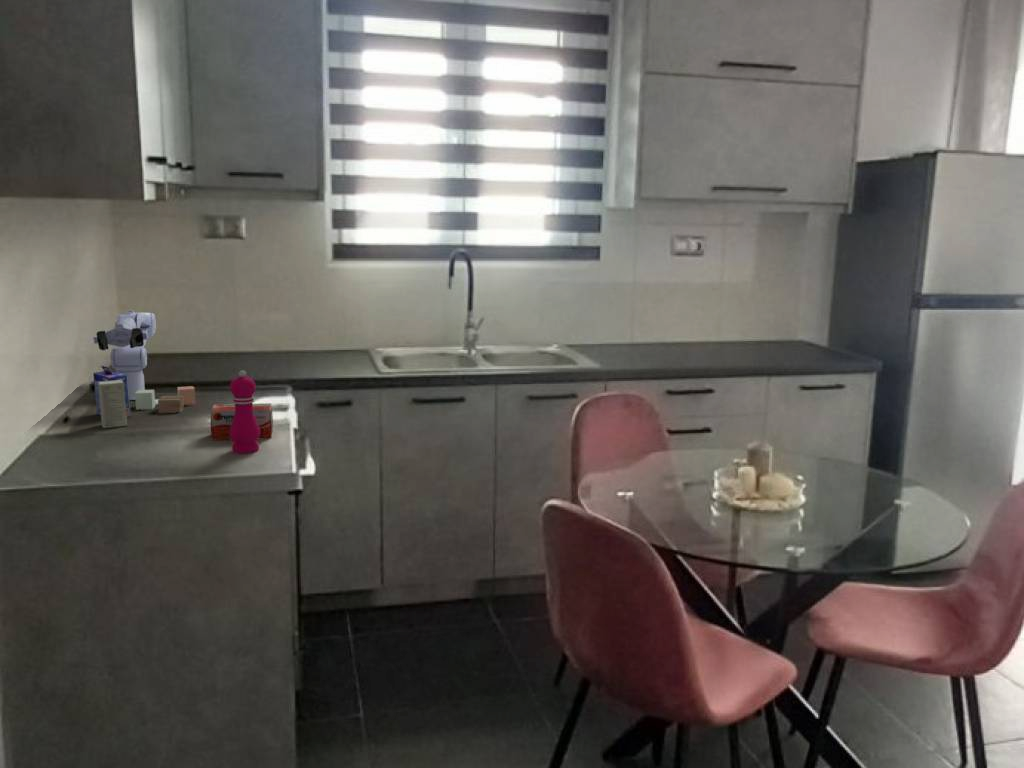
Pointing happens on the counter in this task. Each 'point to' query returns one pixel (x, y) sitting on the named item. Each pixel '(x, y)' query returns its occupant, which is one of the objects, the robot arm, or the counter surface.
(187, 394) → the clay block
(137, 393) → the sage block
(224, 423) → the medicine box
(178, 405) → the base block
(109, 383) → the skincare box
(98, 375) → the ink cartridge box
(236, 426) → the pepper mill
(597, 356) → the counter surface
